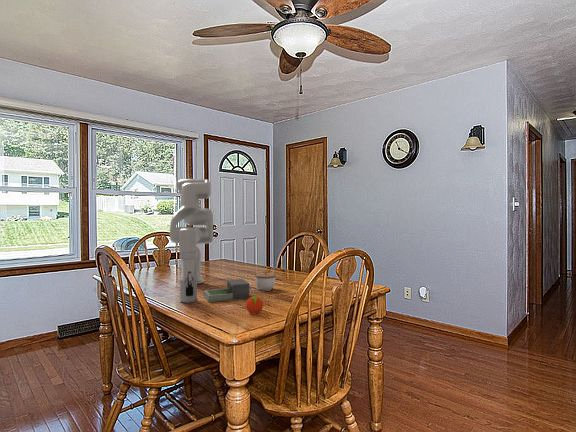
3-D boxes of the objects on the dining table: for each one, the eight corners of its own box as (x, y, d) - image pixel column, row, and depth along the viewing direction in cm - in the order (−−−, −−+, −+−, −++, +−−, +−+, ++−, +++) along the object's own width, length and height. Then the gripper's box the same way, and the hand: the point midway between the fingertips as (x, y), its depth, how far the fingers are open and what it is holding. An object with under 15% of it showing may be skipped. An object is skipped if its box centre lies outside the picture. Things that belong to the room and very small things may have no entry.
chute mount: (204, 296, 173) (204, 282, 173) (242, 292, 181) (242, 278, 180) (208, 302, 162) (208, 287, 162) (249, 298, 169) (249, 283, 169)
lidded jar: (277, 287, 193) (277, 269, 193) (274, 291, 182) (274, 273, 182) (257, 286, 194) (257, 269, 194) (253, 291, 183) (253, 273, 183)
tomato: (264, 316, 141) (264, 298, 141) (247, 317, 140) (246, 299, 140) (261, 310, 149) (261, 293, 149) (245, 311, 148) (244, 294, 147)
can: (192, 303, 160) (192, 276, 160) (176, 302, 162) (176, 276, 162) (199, 299, 168) (199, 273, 168) (184, 298, 169) (184, 273, 169)
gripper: (177, 253, 171) (178, 290, 171) (181, 258, 155) (181, 299, 155) (194, 252, 174) (194, 289, 174) (199, 257, 158) (199, 297, 158)
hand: (188, 293), depth 165 cm, fingers closed on can, 7 cm apart
